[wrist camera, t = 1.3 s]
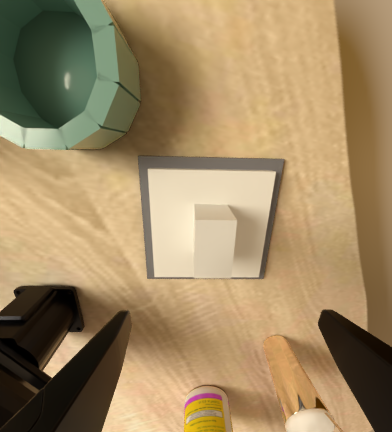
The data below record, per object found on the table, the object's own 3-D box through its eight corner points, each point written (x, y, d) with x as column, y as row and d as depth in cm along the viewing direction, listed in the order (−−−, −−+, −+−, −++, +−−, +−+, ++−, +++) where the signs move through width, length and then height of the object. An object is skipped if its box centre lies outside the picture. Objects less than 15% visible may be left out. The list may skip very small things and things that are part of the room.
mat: (262, 276, 22) (263, 279, 21) (148, 276, 21) (147, 278, 21) (282, 158, 17) (284, 159, 17) (138, 155, 17) (137, 155, 17)
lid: (255, 271, 21) (274, 307, 16) (156, 271, 21) (145, 307, 16) (271, 170, 17) (301, 179, 13) (150, 167, 17) (134, 175, 12)
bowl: (144, 149, 17) (126, 151, 12) (28, 147, 16) (-37, 147, 12) (134, 0, 13) (103, -80, 9) (-13, -7, 13) (-126, -94, 8)
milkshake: (302, 334, 25) (368, 446, 16) (277, 358, 27) (324, 473, 17) (275, 322, 24) (328, 432, 15) (251, 348, 26) (285, 463, 16)
